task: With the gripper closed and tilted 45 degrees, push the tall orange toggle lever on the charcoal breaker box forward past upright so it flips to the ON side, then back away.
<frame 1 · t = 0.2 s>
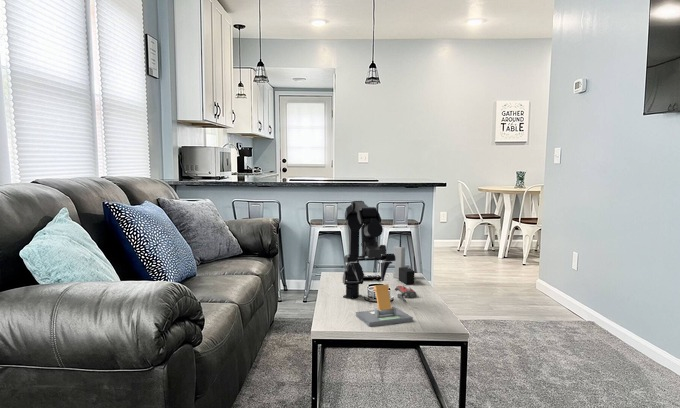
hand: (370, 281, 167), 15 cm above the table, tool pointing down, fingers open, 9 cm apart
breaker lever: (383, 299, 172), point 7 cm above the table, hinge at -25.0°
digital camera: (407, 282, 230), on the table
vintage mobile phone: (398, 278, 240), on the table
breaker box: (385, 319, 171), on the table
walkie-talkie: (405, 297, 204), on the table
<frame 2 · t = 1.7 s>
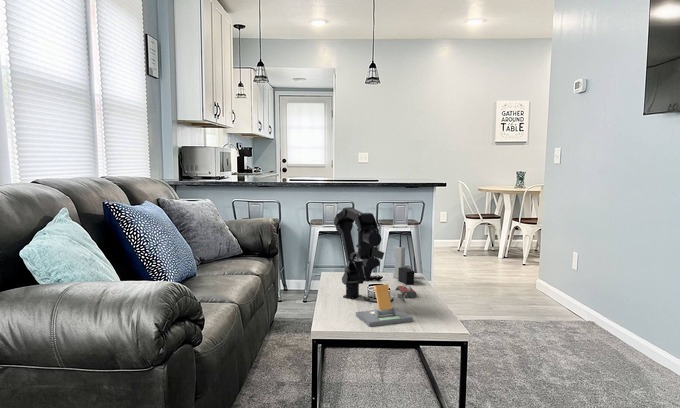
hand: (364, 279, 189), 11 cm above the table, tool pointing down, fingers open, 6 cm apart
nothing on the table moved.
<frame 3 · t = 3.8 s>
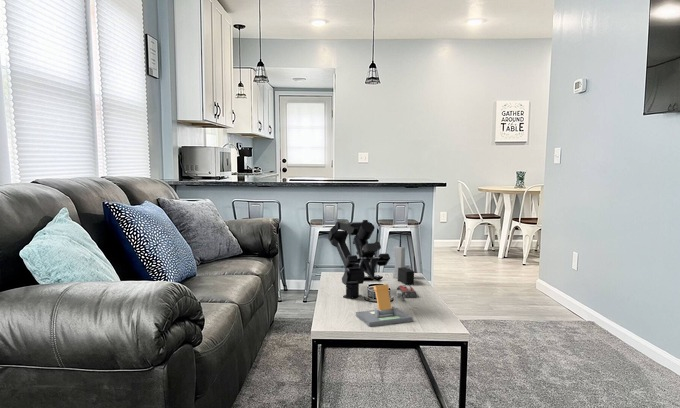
hand: (373, 278, 180), 14 cm above the table, tool tilted 45°, fingers closed
nothing on the table moved.
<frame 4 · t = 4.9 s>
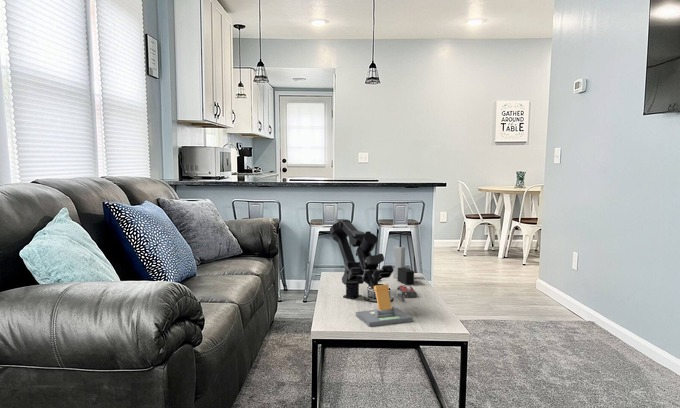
hand: (376, 290, 178), 9 cm above the table, tool tilted 45°, fingers closed
nothing on the table moved.
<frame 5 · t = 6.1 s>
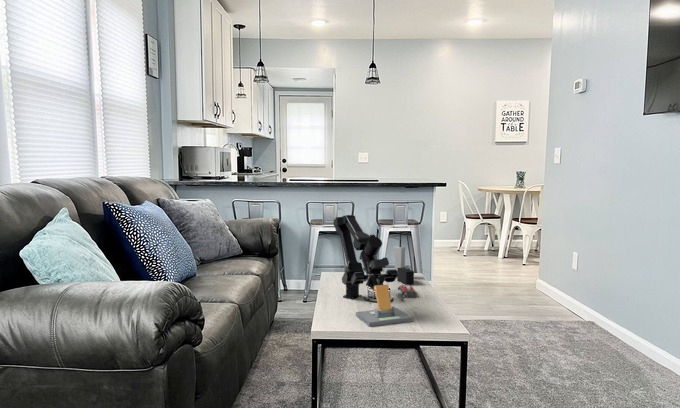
hand: (381, 295, 174), 8 cm above the table, tool tilted 45°, fingers closed, pressing on breaker lever
breaker lever: (383, 299, 172), point 7 cm above the table, hinge at -24.9°, touching gripper
everything else where it was.
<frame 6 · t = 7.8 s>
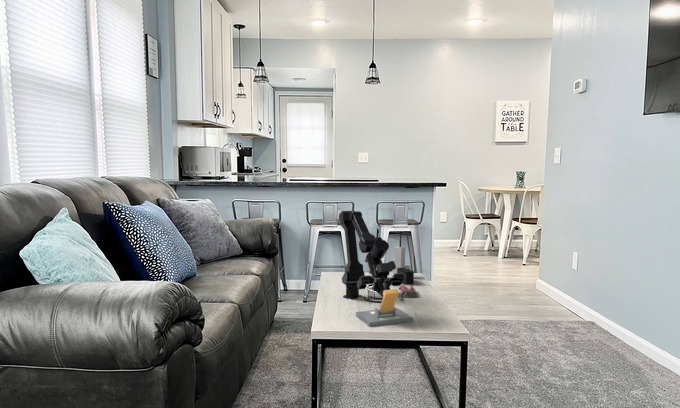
hand: (387, 300, 168), 8 cm above the table, tool tilted 45°, fingers closed, pressing on breaker lever
breaker lever: (388, 302, 168), point 7 cm above the table, hinge at 26.4°, touching gripper
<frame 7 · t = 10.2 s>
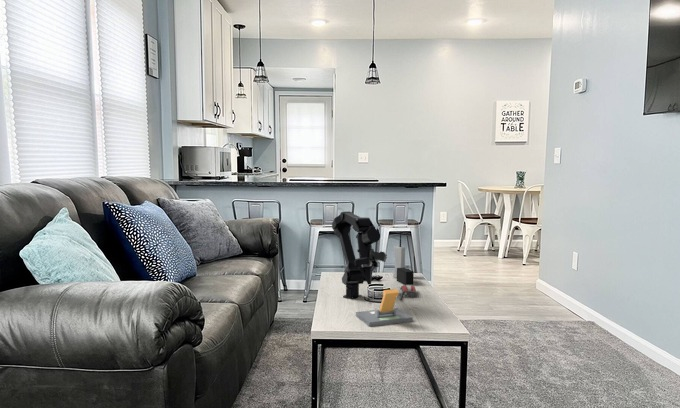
hand: (369, 284, 184), 10 cm above the table, tool tilted 20°, fingers closed
breaker lever: (388, 302, 168), point 7 cm above the table, hinge at 26.5°
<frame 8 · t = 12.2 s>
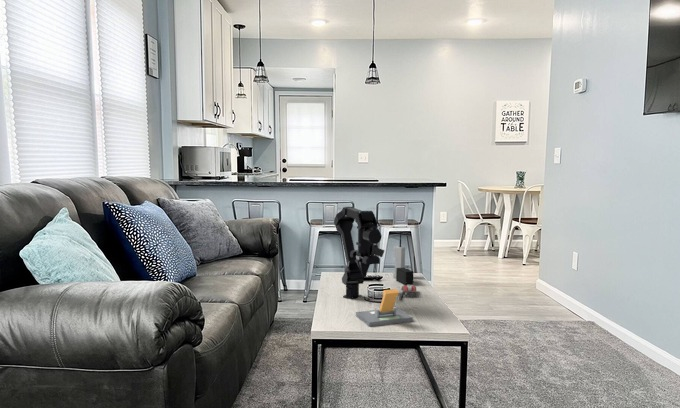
hand: (364, 276, 189), 12 cm above the table, tool pointing down, fingers closed
at the end: breaker lever at +26° (first picture: -25°) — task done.
